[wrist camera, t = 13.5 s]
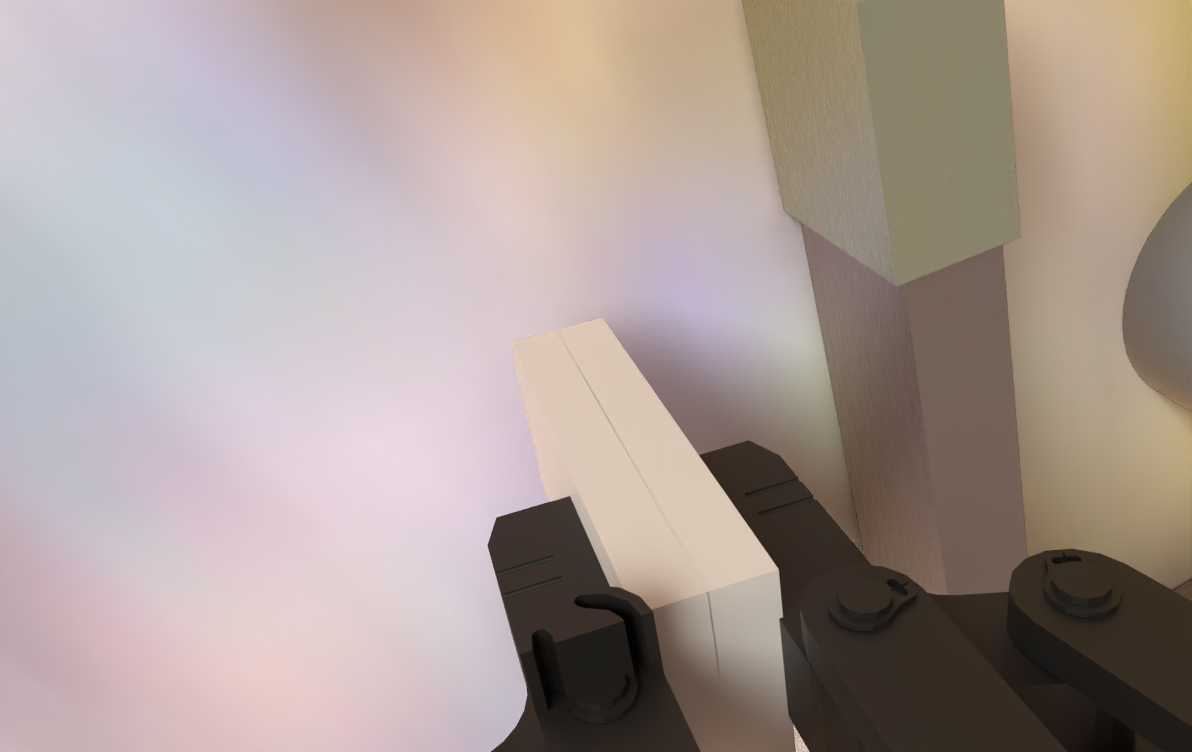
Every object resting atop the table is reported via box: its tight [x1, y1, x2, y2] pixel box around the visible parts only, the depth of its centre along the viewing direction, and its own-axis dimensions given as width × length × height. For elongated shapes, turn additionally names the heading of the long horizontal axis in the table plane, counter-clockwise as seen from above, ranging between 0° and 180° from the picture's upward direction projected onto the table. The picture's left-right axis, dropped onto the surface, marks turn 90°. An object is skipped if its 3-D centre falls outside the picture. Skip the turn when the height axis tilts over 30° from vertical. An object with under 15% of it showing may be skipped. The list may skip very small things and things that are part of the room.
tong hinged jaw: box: [742, 0, 1027, 595], centre depth 18 cm, size 16×2×4 cm, turn 17°
